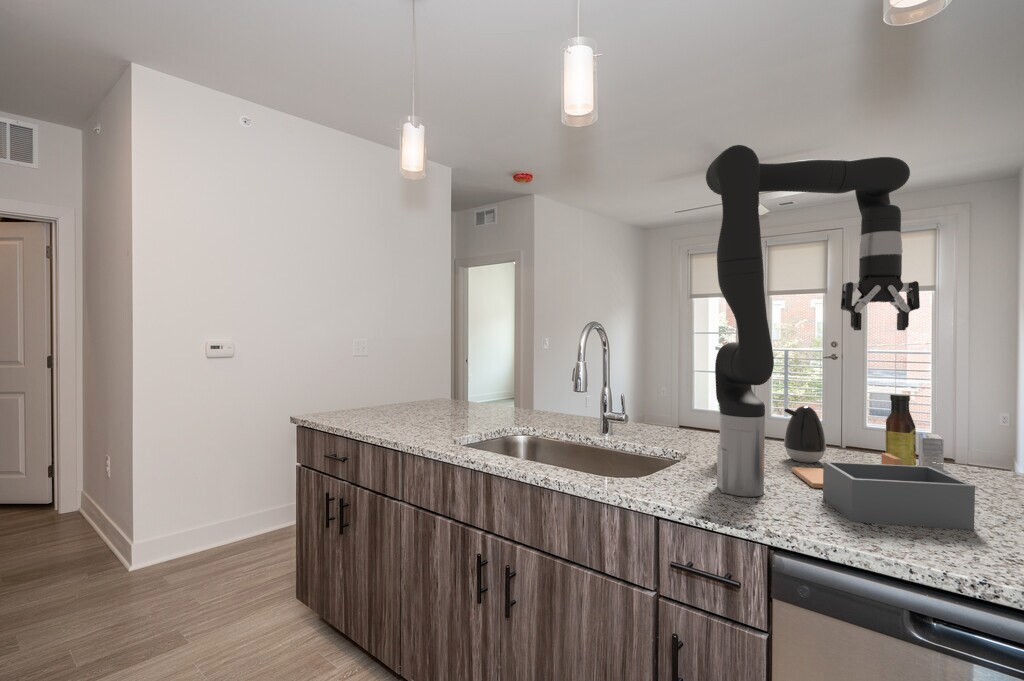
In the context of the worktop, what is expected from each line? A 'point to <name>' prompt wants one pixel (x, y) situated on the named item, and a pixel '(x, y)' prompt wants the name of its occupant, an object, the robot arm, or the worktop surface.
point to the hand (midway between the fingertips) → (878, 330)
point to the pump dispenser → (804, 435)
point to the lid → (816, 474)
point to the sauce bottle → (901, 431)
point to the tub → (899, 495)
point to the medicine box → (931, 451)
